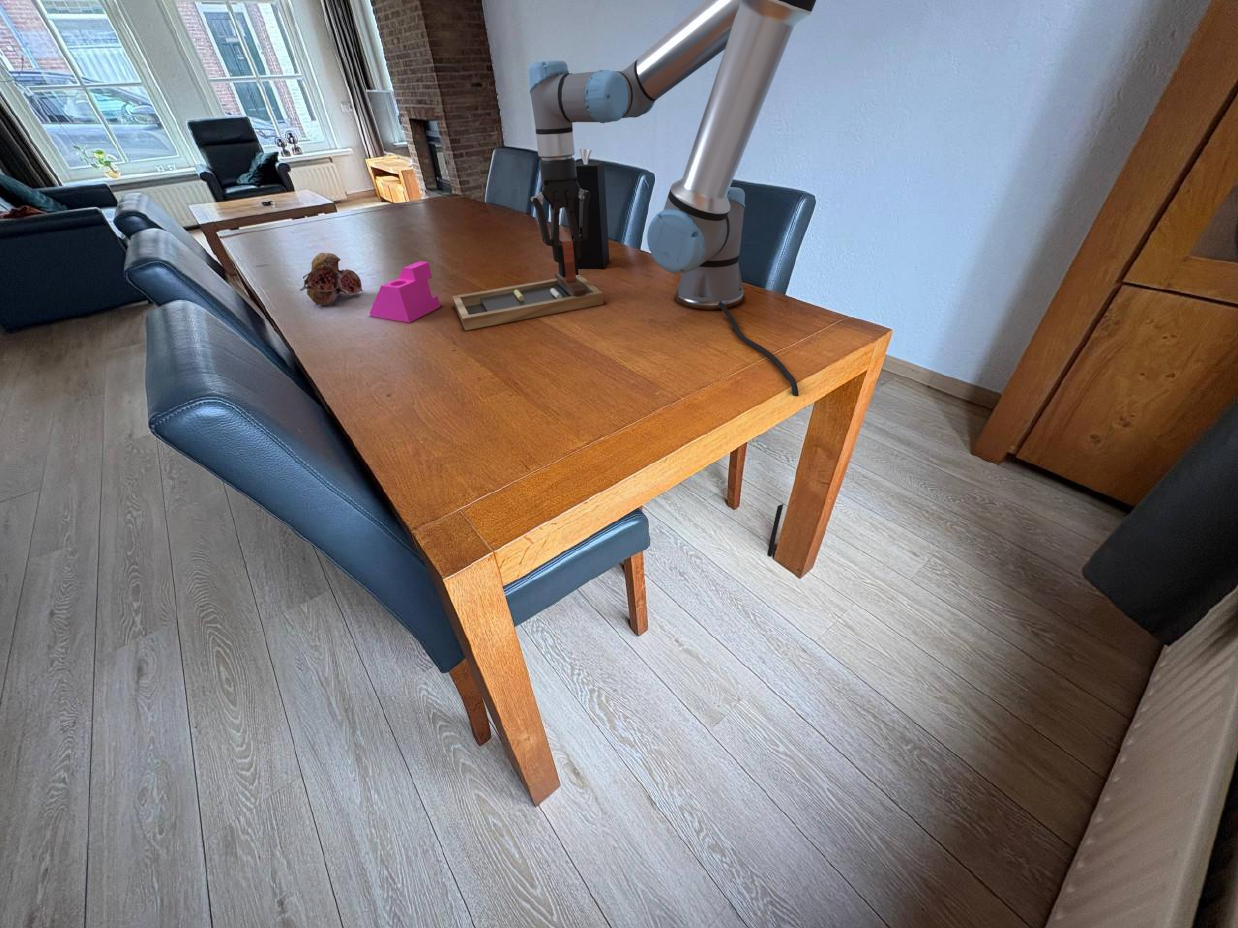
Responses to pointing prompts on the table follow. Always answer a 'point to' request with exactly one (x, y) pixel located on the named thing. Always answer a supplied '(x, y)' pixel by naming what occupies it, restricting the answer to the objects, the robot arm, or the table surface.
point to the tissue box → (593, 213)
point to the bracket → (406, 295)
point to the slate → (521, 303)
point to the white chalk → (556, 293)
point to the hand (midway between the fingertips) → (569, 274)
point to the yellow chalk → (519, 295)
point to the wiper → (569, 270)
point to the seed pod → (329, 280)
